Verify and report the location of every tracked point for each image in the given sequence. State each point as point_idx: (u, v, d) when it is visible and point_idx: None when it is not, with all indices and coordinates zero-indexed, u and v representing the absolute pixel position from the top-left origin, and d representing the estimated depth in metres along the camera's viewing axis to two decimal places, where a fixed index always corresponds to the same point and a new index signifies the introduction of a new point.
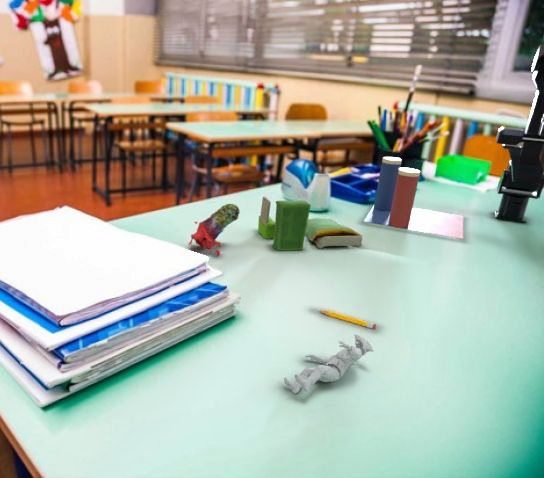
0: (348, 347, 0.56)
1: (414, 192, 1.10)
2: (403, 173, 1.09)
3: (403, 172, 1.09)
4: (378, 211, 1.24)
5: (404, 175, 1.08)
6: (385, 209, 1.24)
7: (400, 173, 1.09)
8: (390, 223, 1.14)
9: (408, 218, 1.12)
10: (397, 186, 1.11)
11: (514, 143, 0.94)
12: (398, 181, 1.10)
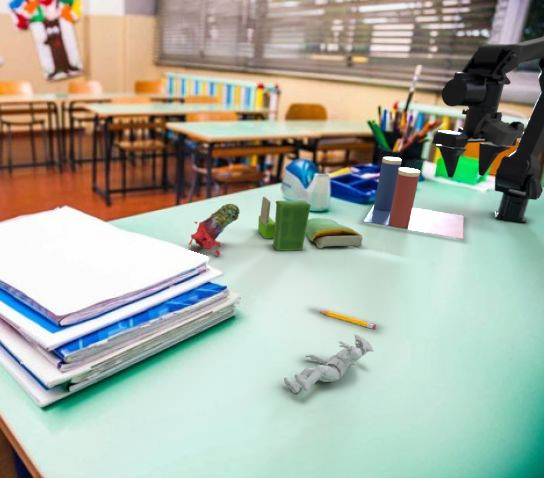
0: (348, 347, 0.56)
1: (414, 192, 1.10)
2: (403, 173, 1.09)
3: (403, 172, 1.09)
4: (378, 211, 1.24)
5: (404, 175, 1.08)
6: (385, 209, 1.24)
7: (400, 173, 1.09)
8: (390, 223, 1.14)
9: (408, 218, 1.12)
10: (397, 186, 1.11)
11: (463, 145, 1.05)
12: (398, 181, 1.10)
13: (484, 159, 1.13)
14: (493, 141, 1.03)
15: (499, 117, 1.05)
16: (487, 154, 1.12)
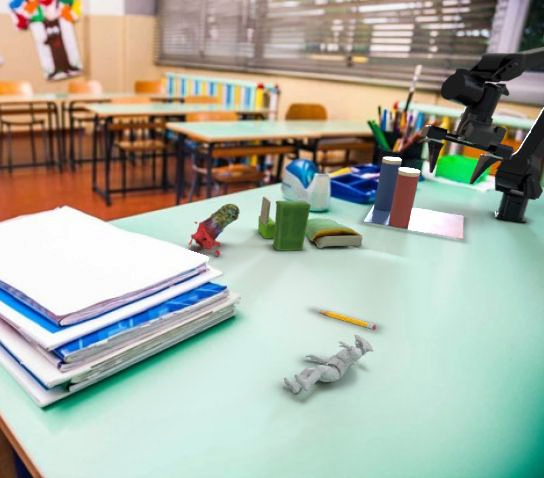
0: (348, 347, 0.56)
1: (414, 192, 1.10)
2: (403, 173, 1.09)
3: (403, 172, 1.09)
4: (378, 211, 1.24)
5: (404, 175, 1.08)
6: (385, 209, 1.24)
7: (400, 173, 1.09)
8: (390, 223, 1.14)
9: (408, 218, 1.12)
10: (397, 186, 1.11)
11: (439, 138, 1.10)
12: (398, 181, 1.10)
13: (477, 168, 1.13)
14: (466, 137, 1.05)
15: (489, 122, 1.07)
16: (481, 163, 1.12)
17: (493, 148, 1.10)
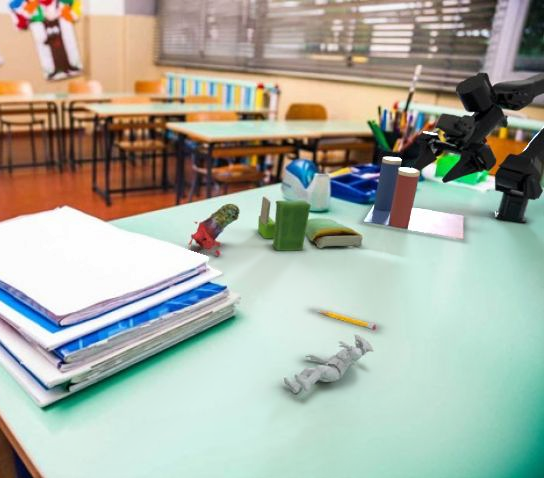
0: (348, 347, 0.56)
1: (414, 192, 1.10)
2: (403, 173, 1.09)
3: (403, 172, 1.09)
4: (378, 211, 1.24)
5: (404, 175, 1.08)
6: (385, 209, 1.24)
7: (400, 173, 1.09)
8: (390, 223, 1.14)
9: (408, 218, 1.12)
10: (397, 186, 1.11)
11: (424, 138, 1.16)
12: (398, 181, 1.10)
13: None
14: None
15: None
16: None
17: None
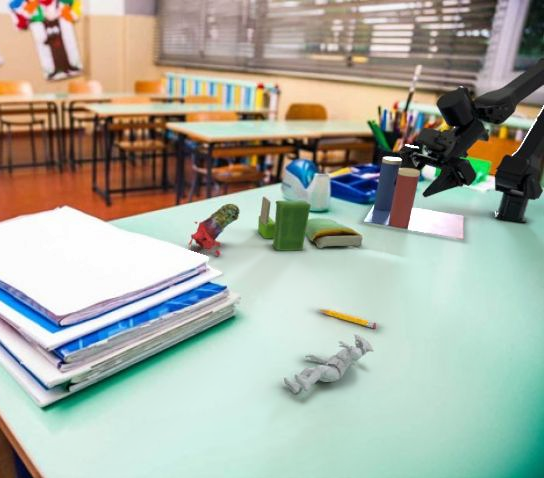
0: (348, 347, 0.56)
1: (414, 192, 1.10)
2: (403, 173, 1.09)
3: (403, 172, 1.09)
4: (378, 211, 1.24)
5: (404, 175, 1.08)
6: (385, 209, 1.24)
7: (400, 173, 1.09)
8: (390, 223, 1.14)
9: (408, 218, 1.12)
10: (397, 186, 1.11)
11: (406, 151, 1.16)
12: (398, 181, 1.10)
13: None
14: None
15: None
16: None
17: (456, 166, 1.06)
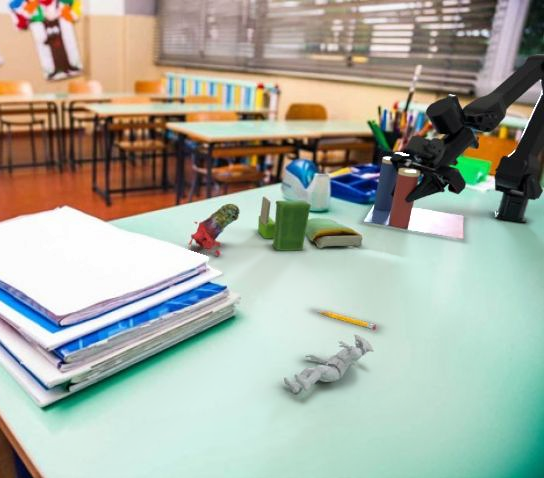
0: (348, 347, 0.56)
1: None
2: (403, 173, 1.09)
3: (403, 172, 1.09)
4: (378, 211, 1.24)
5: (404, 175, 1.08)
6: (385, 209, 1.24)
7: (400, 173, 1.09)
8: (390, 223, 1.14)
9: (408, 218, 1.12)
10: (397, 186, 1.11)
11: (397, 158, 1.16)
12: (398, 181, 1.10)
13: None
14: None
15: None
16: None
17: None
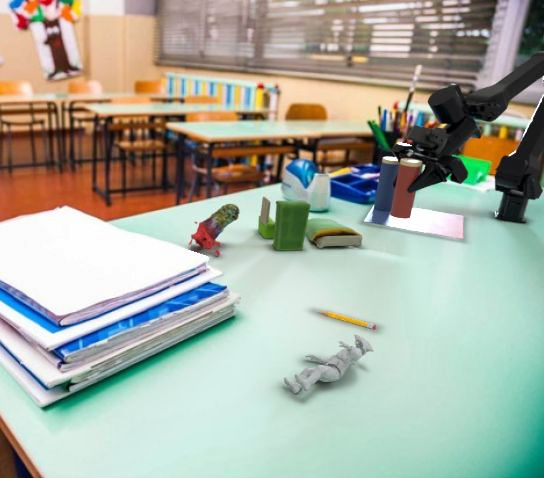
0: (348, 347, 0.56)
1: None
2: (405, 163, 1.08)
3: (405, 162, 1.08)
4: (378, 211, 1.24)
5: (406, 165, 1.08)
6: (385, 209, 1.24)
7: (402, 163, 1.09)
8: (392, 214, 1.13)
9: (410, 209, 1.11)
10: (399, 176, 1.10)
11: (398, 149, 1.15)
12: (400, 171, 1.09)
13: None
14: None
15: None
16: None
17: None
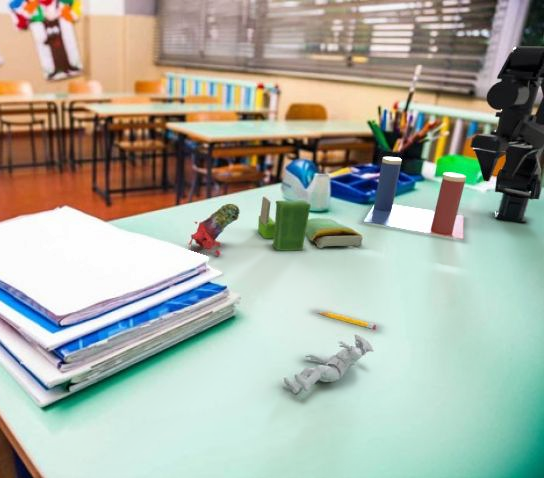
0: (348, 347, 0.56)
1: (460, 197, 1.07)
2: (451, 178, 1.05)
3: (451, 177, 1.05)
4: (378, 211, 1.24)
5: (452, 180, 1.05)
6: (385, 209, 1.24)
7: (447, 178, 1.06)
8: (435, 230, 1.10)
9: (453, 224, 1.09)
10: (443, 192, 1.07)
11: (504, 149, 1.03)
12: (444, 187, 1.07)
13: (512, 161, 1.13)
14: (534, 144, 1.02)
15: (534, 119, 1.05)
16: (515, 156, 1.12)
17: (525, 139, 1.11)
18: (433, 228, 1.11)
